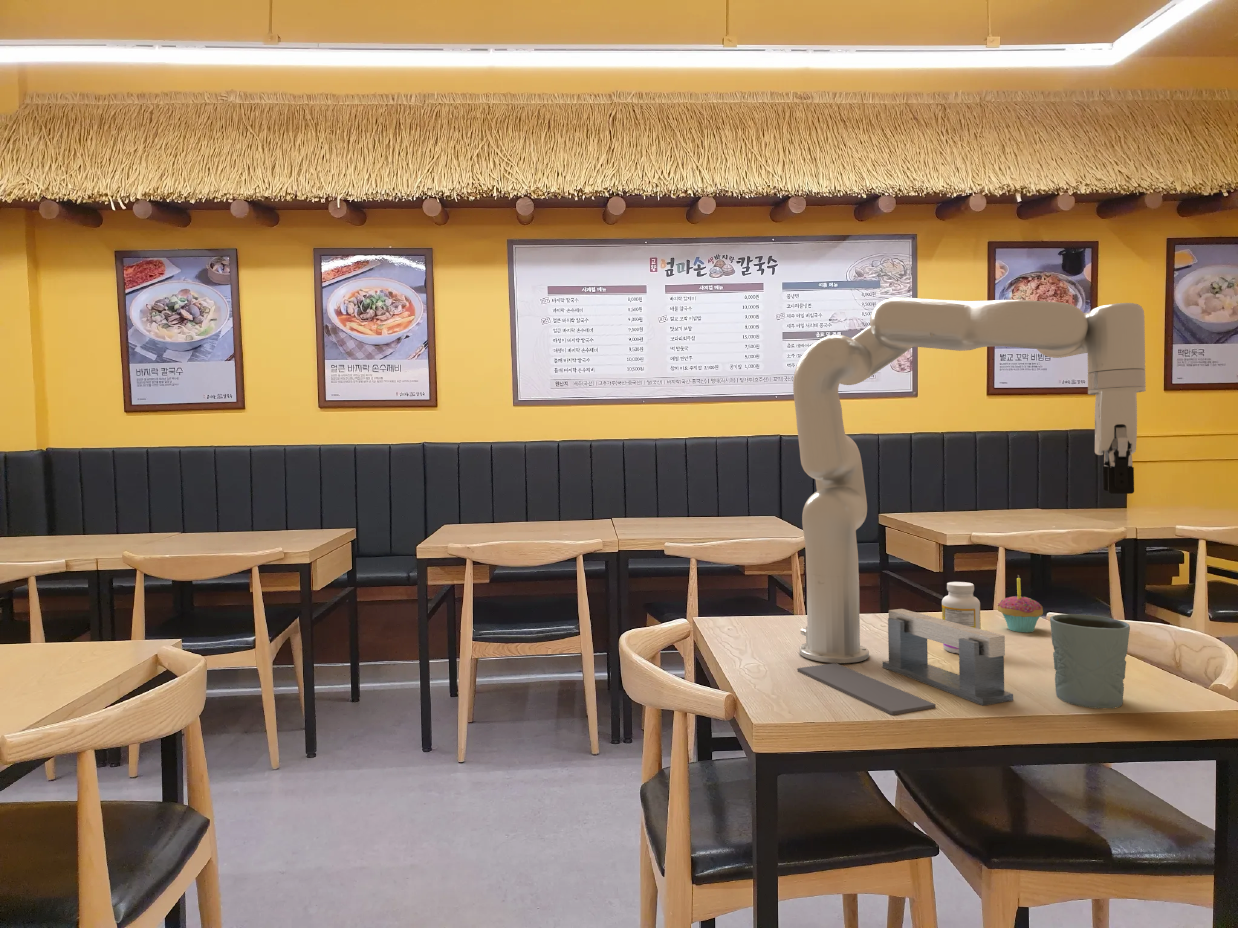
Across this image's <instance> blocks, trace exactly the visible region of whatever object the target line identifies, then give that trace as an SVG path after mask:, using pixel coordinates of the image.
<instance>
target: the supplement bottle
mask: <svg viewBox="0 0 1238 928" xmlns="http://www.w3.org/2000/svg"><path fill="white" fill-rule="evenodd" d="M946 590H947V592H948V595H945V596H944V597H943V598H942V600H941V619H943V620H947V621H951V622H954V623H958V624H962V625H966V626H970V627H973V628H977V629H981V628H982V627H981V602H980V600H979V599H978V598H977V597H976V596H974V591H975V585H974V584H973V583H971V582H965V581H949V582H947V583H946ZM981 630H982V629H981ZM942 647H943V649H944V650H945V651H947V652H950V653H953V654H958V655H959V648H956V647H953V646H950V645H946V644H943V643H942Z"/></svg>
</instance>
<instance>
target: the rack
mask: <svg viewBox="0 0 1238 928" xmlns="http://www.w3.org/2000/svg"><path fill="white" fill-rule="evenodd" d="M887 630H888V631H887V636H888V638H887V639H888V660H884V661H882V668H883V669H886V670H889V671H892V672H894V673H896V674H900V675H902V676H904V677H907V678H910V679H913V680H915V681H918V682H920V683H923V684H926V685H928V686H931V687H933V688H935V689H937V690H941V691H943V692H946V693H948V694H949V693H950V694H951V695H953V696H957V697H958V698H962V699H965V700H967V701H969V702H973V703H975V704H977V705H980V706H988V705H995V704H1000V703H1006V702H1012V701H1014V694H1013V693H1011V692H1009V691H1006V690H1005V660H1004V659H1005V658H1004V657H1005V656H998V657H991V658H989V657H986V656H982V655H979V642H976V641H972V640H969V639H965V638H960V639H959V654H958V661H959V662H958V665H959V673H954V672H951V671H948V670H946V669H943V668H940V667H937V666H935V665H931V664H928V662H929V661H928V657H929V656H928V639H927V638H923V637H920V636H917V635H913V634H910V633H907V632H904V621H902V620H898V619H895V618H889V617H888V618H887Z"/></svg>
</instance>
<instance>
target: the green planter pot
mask: <svg viewBox="0 0 1238 928" xmlns="http://www.w3.org/2000/svg"><path fill="white" fill-rule="evenodd" d="M1049 623H1050V624H1049V625H1050V632H1051V633H1050V634H1051V644H1052V647H1053V650H1054V651H1053V652H1052V653H1053V655H1052V656H1053V667H1054V668H1053V669H1054V670H1055V675H1054V683H1055V694H1056V697H1057V698H1058V699H1060V700H1061V701H1063V702H1064V703H1068V704H1071V705H1073V706H1078V707H1079V706H1080V707H1084V708H1089V709H1090V708H1091V709H1099V708H1111V709H1116V708H1115V707H1117V708H1120V707H1122V705H1123V702H1124V693H1125V684H1124V679H1125V678H1126V666H1127V661H1126V657H1127V653H1128V649H1129V647H1128V646H1129V637H1130V629H1131V627H1130V626H1131V625H1130V623H1127V622H1125V621H1123V620H1120V619H1116V618H1112V617H1106V616H1105V617H1104V616H1098V615H1092V614H1091V615H1090V614H1080V613H1079V614H1076V613H1064V614H1061V613H1060V614H1053V615H1051V616H1050V617H1049ZM1119 706H1120V707H1119Z"/></svg>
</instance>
